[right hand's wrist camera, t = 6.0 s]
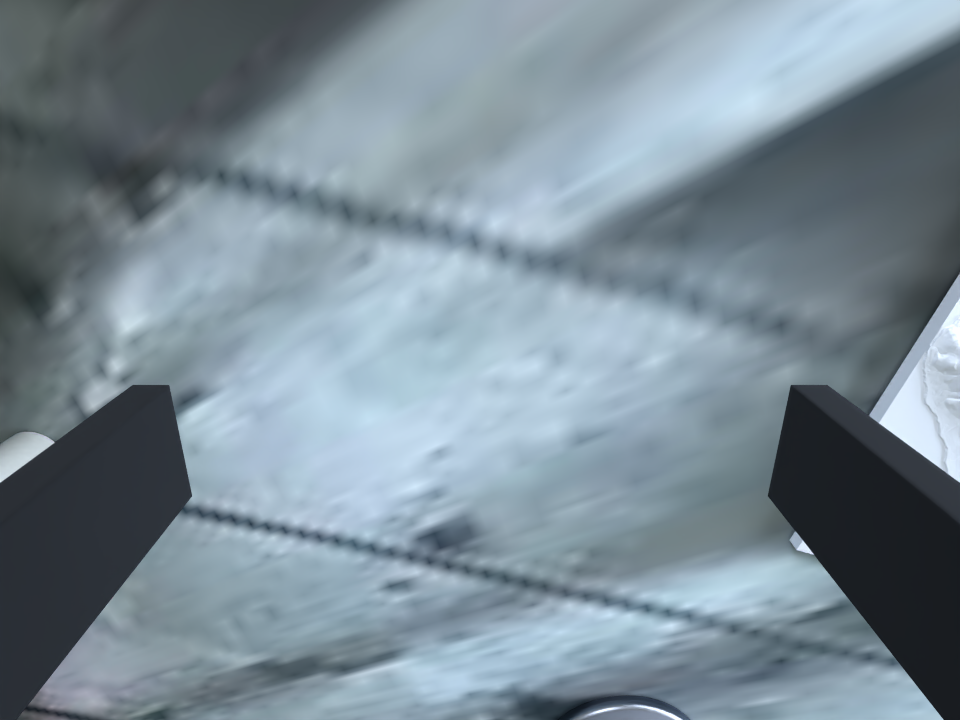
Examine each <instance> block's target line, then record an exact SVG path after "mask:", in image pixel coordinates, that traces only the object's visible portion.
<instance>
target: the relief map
mask: <svg viewBox="0 0 960 720" xmlns="http://www.w3.org/2000/svg"><path fill="white" fill-rule="evenodd" d="M869 416H870V417H871V418H873V419H874V420H875V421H877V422H878V423H879V424H881V425H882V426H883V427H885V428H886V429H888V430H889V431H890V432H892V433H893V434H894V435H896V436H897V437H898V438H900V439H901V440H902V441H904V442H905V443H907V444H908V445H909V446H911V447H912V448H913V449H915V450H916V451H917V452H919V453H920V454H922V455H923V456H924V457H926V458H927V459H928V460H930V461H931V462H932V463H934V464H935V465H936V466H938V467H939V468H941V469H942V470H943V471H945V472H946V473H947V474H949V475H950V476H951V477H953V478H954V479H955V480H957V481H958V482H960V274H959V275H958V277H957V279H956V280H955V282H954V283H953V285H952V286H951V288H950V290H949V291H948V293H947V294H946V296H945V297H944V299H943V300H942V302H941V304H940V305H939V307H938V308H937V310H936V311H935V313H934V315H933V316H932V318H931V319H930V321H929V322H928V324H927V326H926V327H925V329H924V330H923V332H922V333H921V335H920V336H919V338H918V340H917V341H916V343H915V344H914V346H913V347H912V349H911V351H910V352H909V354H908V355H907V357H906V358H905V360H904V362H903V363H902V365H901V366H900V368H899V369H898V371H897V372H896V374H895V376H894V377H893V379H892V380H891V382H890V383H889V385H888V387H887V388H886V390H885V391H884V393H883V394H882V396H881V398H880V399H879V401H878V402H877V404H876V405H875V407H874V409H873V410H872V412H871V413H870V415H869ZM790 542H791V543H792V544H793V546H794V547H795V548H796V550H799V551H802V552H806V553H809V554H813V553H812V551H811V550H810V549H809V548H808V546H807V545H806V544H805V543H804V541H803V540H802V539H801V537H800V536H799V535H798V534H797V532H796V531H795V532H794V534H793V535H792V537H791V538H790ZM813 555H814V554H813Z"/></svg>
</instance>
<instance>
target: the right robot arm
mask: <svg viewBox="0 0 960 720" xmlns="http://www.w3.org/2000/svg"><path fill="white" fill-rule="evenodd" d="M191 497H192V493H191V488H190V483H189V479H188V474H187V469H186V464H185V459H184V455H183V450H182V445H181V440H180V435H179V430H178V426H177V421H176V416H175V411H174V406H173V402H172V397H171V392H170V387H169V385H132V386H131V387H130V388H128V389H127V390H125V391H124V392H123V393H121V394H120V395H119V396H117V397H116V398H115V399H113V400H112V401H111V402H109V403H108V404H106V405H105V406H104V407H102V408H101V409H100V410H98V411H97V412H96V413H94V414H93V415H92V416H90V417H89V418H87V419H86V420H85V421H83V422H82V423H81V424H79V425H78V426H77V427H75V428H74V429H72V430H71V431H70V432H68V433H67V434H66V435H64V436H63V437H62V438H60V439H59V440H58V441H56V442H55V443H53V444H52V445H51V446H49V447H48V448H47V449H45V450H44V451H43V452H41V453H40V454H38V455H37V456H36V457H34V458H33V459H32V460H30V461H29V462H28V463H26V464H25V465H24V466H22V467H21V468H19V469H18V470H17V471H15V472H14V473H13V474H11V475H10V476H9V477H7V478H6V479H5V480H3V481H2V482H0V720H16V719H17V718H18V717H19V716H20V714H21V713H22V712H23V710H24V709H25V708H26V707H27V705H28V704H29V703H30V702H31V700H32V699H33V698H34V696H35V695H36V694H37V693H38V691H39V690H40V689H41V688H42V686H43V685H44V684H45V683H46V681H47V680H48V679H49V677H50V676H51V675H52V674H53V672H54V671H55V670H56V669H57V667H58V666H59V665H60V663H61V662H62V661H63V660H64V658H65V657H66V656H67V655H68V653H69V652H70V651H71V649H72V648H73V647H74V646H75V644H76V643H77V642H78V641H79V639H80V638H81V637H82V635H83V634H84V633H85V632H86V630H87V629H88V628H89V627H90V625H91V624H92V623H93V621H94V620H95V619H96V618H97V616H98V615H99V614H100V613H101V611H102V610H103V609H104V607H105V606H106V605H107V604H108V602H109V601H110V600H111V599H112V597H113V596H114V595H115V593H116V592H117V591H118V590H119V588H120V587H121V586H122V585H123V583H124V582H125V581H126V579H127V578H128V577H129V576H130V574H131V573H132V572H133V571H134V569H135V568H136V567H137V565H138V564H139V563H140V562H141V560H142V559H143V558H144V557H145V555H146V554H147V553H148V551H149V550H150V549H151V548H152V546H153V545H154V544H155V543H156V541H157V540H158V539H159V537H160V536H161V535H162V534H163V532H164V531H165V530H166V529H167V527H168V526H169V525H170V523H171V522H172V521H173V520H174V518H175V517H176V516H177V515H178V513H179V512H180V511H181V509H182V508H183V507H184V506H185V504H186V503H187V502H188V501H189V499H190V498H191ZM768 497H769V498H770V499H771V501H772V502H773V503H774V504H775V506H776V507H777V508H778V509H779V511H780V512H781V513H782V515H783V516H784V517H785V518H786V520H787V521H788V522H789V523H790V525H791V526H792V527H793V529H794V530H795V531H796V532H797V534H798V535H799V536H800V537H801V539H802V540H803V541H804V543H805V544H806V545H807V546H808V548H809V549H810V550H811V551H812V553H813V554H814V555H815V557H816V558H817V559H818V560H819V562H820V563H821V564H822V565H823V567H824V568H825V569H826V571H827V572H828V573H829V574H830V576H831V577H832V578H833V579H834V581H835V582H836V583H837V585H838V586H839V587H840V588H841V590H842V591H843V592H844V593H845V595H846V596H847V597H848V599H849V600H850V601H851V602H852V604H853V605H854V606H855V607H856V609H857V610H858V611H859V613H860V614H861V615H862V616H863V618H864V619H865V620H866V621H867V623H868V624H869V625H870V627H871V628H872V629H873V630H874V632H875V633H876V634H877V635H878V637H879V638H880V639H881V641H882V642H883V643H884V644H885V646H886V647H887V648H888V649H889V651H890V652H891V653H892V655H893V656H894V657H895V658H896V660H897V661H898V662H899V663H900V665H901V666H902V667H903V669H904V670H905V671H906V672H907V674H908V675H909V676H910V677H911V679H912V680H913V681H914V683H915V684H916V685H917V686H918V688H919V689H920V690H921V691H922V693H923V694H924V695H925V697H926V698H927V699H928V700H929V702H930V703H931V704H932V705H933V707H934V708H935V709H936V710H937V712H938V713H939V714H940V716H941V717H942V718H943V719H944V720H960V482H958V481H957V480H955V479H954V478H953V477H951V476H950V475H949V474H947V473H946V472H945V471H943V470H942V469H941V468H939V467H938V466H936V465H935V464H934V463H932V462H931V461H930V460H928V459H927V458H926V457H924V456H923V455H922V454H920V453H919V452H917V451H916V450H915V449H913V448H912V447H911V446H909V445H908V444H907V443H905V442H904V441H902V440H901V439H900V438H898V437H897V436H896V435H894V434H893V433H892V432H890V431H889V430H888V429H886V428H885V427H883V426H882V425H881V424H879V423H878V422H877V421H875V420H874V419H873V418H871V417H870V416H868V415H867V414H866V413H864V412H863V411H862V410H860V409H859V408H858V407H856V406H855V405H854V404H852V403H851V402H849V401H848V400H847V399H845V398H844V397H843V396H841V395H840V394H839V393H837V392H836V391H835V390H833V389H832V388H830V387H829V386H828V385H791V387H790V392H789V397H788V402H787V406H786V411H785V416H784V421H783V426H782V430H781V435H780V440H779V445H778V450H777V455H776V459H775V464H774V469H773V474H772V479H771V483H770V488H769V493H768ZM558 720H690V719H689V718H688V717H687V716H686V715H685V714H684V713H682V712H681V711H680V710H678V709H677V708H675V707H673V706H671V705H669V704H667V703H665V702H662V701H659V700H656V699H652V698H647V697H640V696H613V697H607V698H601V699H597V700H594V701H591V702H588V703H585V704H583V705H580V706H578V707H576V708H574V709H572V710H571V711H569V712H567V713H566V714H565V715H563V716H562V717H561V718H559V719H558Z"/></svg>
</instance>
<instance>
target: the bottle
mask: <svg viewBox="0 0 960 720" xmlns="http://www.w3.org/2000/svg"><path fill="white" fill-rule="evenodd" d="M53 443H55V442H54V441H53V440H51V439H50V438H48V437H46V436H44V435H42V434H39V433H35V432H20V433H17V434H14V435H12V436H11V437H9V438H8V439H6V440H5V441H3V442H2V443H0V482H2V481H3V480H5V479H6V478H7V477H9V476H10V475H11V474H13V473H14V472H15V471H17V470H18V469H19V468H21V467H22V466H24V465H25V464H26V463H28V462H29V461H30V460H32V459H33V458H34V457H36V456H37V455H38V454H40V453H41V452H43V451H44V450H45V449H47V448H48V447H49V446H51V445H52V444H53Z"/></svg>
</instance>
